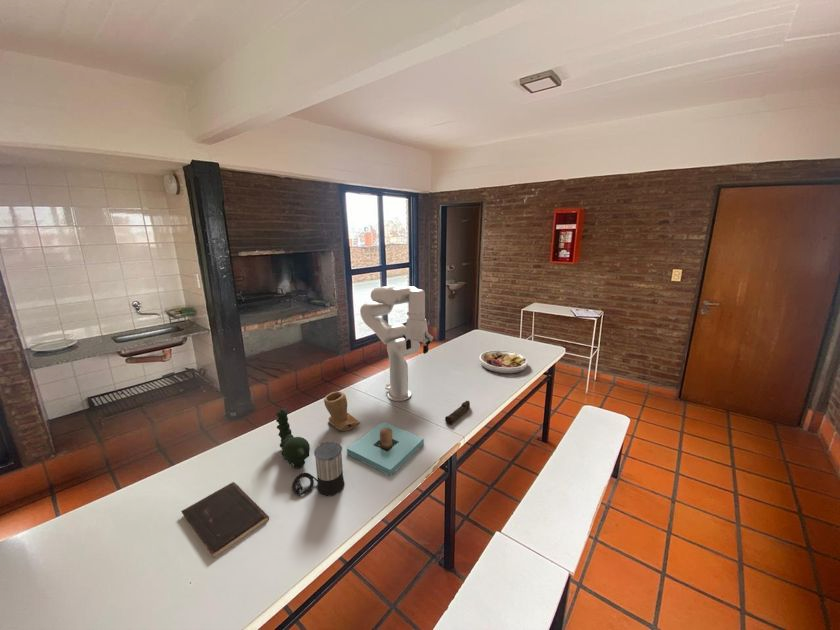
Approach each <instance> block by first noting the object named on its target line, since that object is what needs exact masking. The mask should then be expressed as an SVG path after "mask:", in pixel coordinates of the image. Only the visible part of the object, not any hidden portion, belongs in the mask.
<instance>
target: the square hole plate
mask: <svg viewBox="0 0 840 630" xmlns="http://www.w3.org/2000/svg"><path fill="white" fill-rule="evenodd" d="M383 428H390V429H392V444H393V447H392V448H391V449H390V450H389V451H388V452H387V451H385V450H383V449H380V430H381V429H383ZM424 441H425V439H424V438H423V437H421V436H418V435H416V434H414V433H411V432H409V431H407V430H404V429H401V428H398V427H396V426H395V425H392V424H389V423H386V422H384V421H382V422H380V423H379V424H378V425H376V426H375V427H374V428H373V429H371V430H370V431H368V432H367V433H365V434H364V435H363V436H362V437H360V438H358V439H357V440H356V441H355V442H353V443H352V444H351V445H350V446H348V447H347V448H346V454H347V455H349V456H350V457H353V458H355V459H356V460H358V461H360V462H363V463H364V464H367V465H369V466H370V467H372V468H374V469H376V470H378V471H380V472H382V473H384V474H387V475H389V476H390V477H391V476H392V475H393V474H395V472H396V471H397V470H398V469H400V467H401V466H403V464H404V463H406V462H407V461H408V460H409V459H410V458H411V457H412V456H413V455H414V454H415V453H417V451H418V450H419V449H420V448H421V447H422V446H423V445H424V443H425V442H424Z"/></svg>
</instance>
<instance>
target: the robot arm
mask: <svg viewBox="0 0 840 630" xmlns="http://www.w3.org/2000/svg"><path fill="white" fill-rule="evenodd" d="M370 299H371V301H370V302H366V303H364V304H363V305H361V307H360V310H359V313H360V316H361V320H362V321H363V323H364V324H365V325H366V326H367V327H368V328H369V329H371V330H372V331H373V332H374V334H375V335H376V336H377V337H378V338H379V340H380V341H381V342H382V343H383V344H384V345H386V351H387V352H386V353H387V355H388V362H389V364H388V365H389V383H386V385H385V387H384V389H385V390H388V391H387V398H388V399H389V400H391V401H394V402H402V401H406V400H409V399H410V398H411V397H412V392H411V391H410V390H409V366H408V362H407V360H406V359H405V357H407V356H410V355H414V354H416V353H417V352H419V351H420V349H421V344H420V343H422V344H423V346H422V348H423V349H422V350H423V351H422V353H423V354H427V353H428V352H429V345H430V344H431V343H432V341H433V339H434V336H432V335H431V334H430V333H429V331H428V322H427V319H426V292H425V290H424V289H420V288H418V287H416V286H411V285H410V286H408V285H407V286H401V287H400V286H399V287H395V286H393V285H387V286H386V285H385V286H378V287H375V288H374V289H372V291H371V292H370ZM406 303H407V304H408V312H407V313H406V315H407V316H408V318H406V322H405V325H404V324H403V323H398V324H397V323H396V324H394V325H393V324H392V325H390V324H389V323H388V322H387V321H386V320H384V319H383V318H381V316H386V315H389V314H390V313H391V312H392V310H393V308H394V306H396V305H401V304H406Z"/></svg>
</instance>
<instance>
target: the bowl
mask: <svg viewBox="0 0 840 630" xmlns="http://www.w3.org/2000/svg"><path fill="white" fill-rule="evenodd" d="M479 362H480V364H481V366H482V367H484V368H485V369H487V370H489V371H491V372H495V373H498V374H516V373H520V372H522V371H523V370H525V369H526V368H527V365H528V358H526V356H525V355H522V354H520V353H518V352H514V351H509V350H502V349H501V350H500V349H498V350H497V349H496V350H494V349H493V350H487V351H485V352H482V353H481V354H480V355H479Z"/></svg>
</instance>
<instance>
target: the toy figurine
mask: <svg viewBox="0 0 840 630" xmlns="http://www.w3.org/2000/svg"><path fill="white" fill-rule="evenodd" d="M275 415H276V416H277V418H276V420H275V421H276V423H278V425H277V426H276V429H277V430H279V432H278V434H277V435H278V437H280V443H279V447H280V448H281V450H282V451H281V455H282V456H283V459H284V461H286V462H288V464H289V465H292V466H293V468H295V469H300V468H303V466H305V463H306V459H307V458H309V457H310V451H311V446H310V443H309V441H308V440H307V439H305V438H304V437H301V436H295V437H294V435H293V434H292V430H291V428H290V427H291V426H290V425H291V424H290V423H289V422H288V421H289V418H288V411H287V408H280V409H279V410H278V412H276V413H275Z"/></svg>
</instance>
